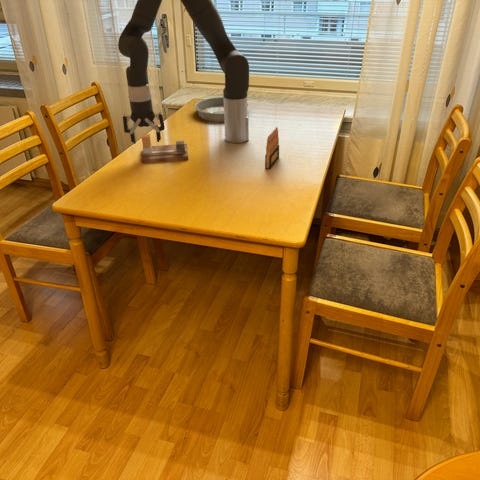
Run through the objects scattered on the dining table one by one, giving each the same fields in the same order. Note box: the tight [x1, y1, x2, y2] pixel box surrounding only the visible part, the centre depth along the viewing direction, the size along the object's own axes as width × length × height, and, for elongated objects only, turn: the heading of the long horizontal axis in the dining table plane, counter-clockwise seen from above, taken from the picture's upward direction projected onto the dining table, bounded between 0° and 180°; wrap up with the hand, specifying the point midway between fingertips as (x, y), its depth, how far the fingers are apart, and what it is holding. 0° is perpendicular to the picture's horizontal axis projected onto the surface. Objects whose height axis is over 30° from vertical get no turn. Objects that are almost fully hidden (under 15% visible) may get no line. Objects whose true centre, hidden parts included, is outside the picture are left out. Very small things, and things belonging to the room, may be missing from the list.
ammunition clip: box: [264, 127, 280, 170], centre depth 162 cm, size 11×2×12 cm, turn 158°
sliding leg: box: [141, 133, 153, 154], centre depth 169 cm, size 3×7×7 cm, turn 7°
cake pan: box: [194, 96, 249, 123], centre depth 210 cm, size 25×25×4 cm
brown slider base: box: [141, 140, 189, 164], centre depth 171 cm, size 17×12×6 cm
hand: (146, 142), depth 167 cm, fingers open, 8 cm apart
